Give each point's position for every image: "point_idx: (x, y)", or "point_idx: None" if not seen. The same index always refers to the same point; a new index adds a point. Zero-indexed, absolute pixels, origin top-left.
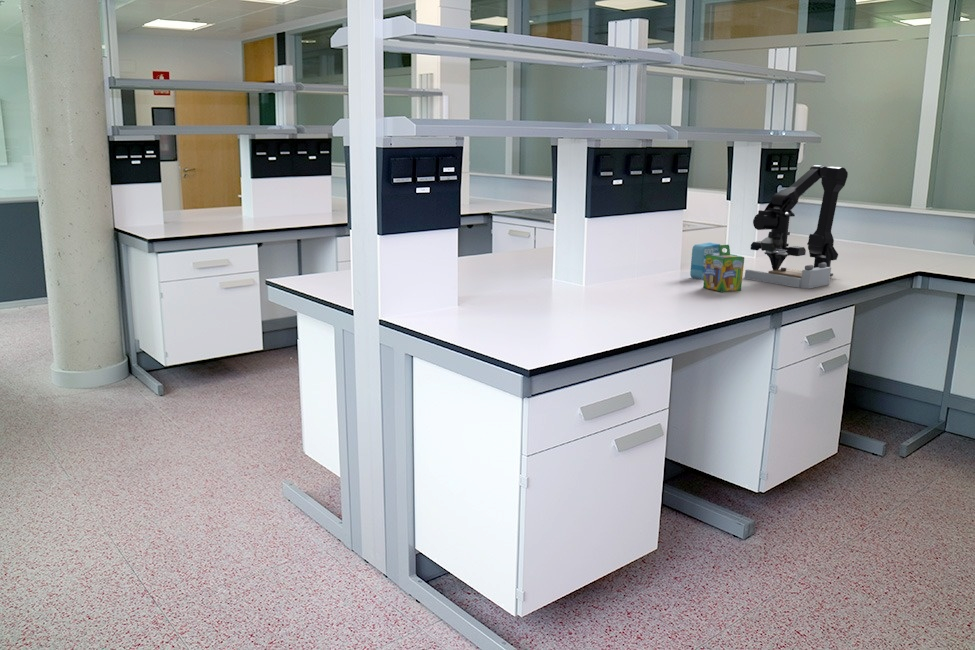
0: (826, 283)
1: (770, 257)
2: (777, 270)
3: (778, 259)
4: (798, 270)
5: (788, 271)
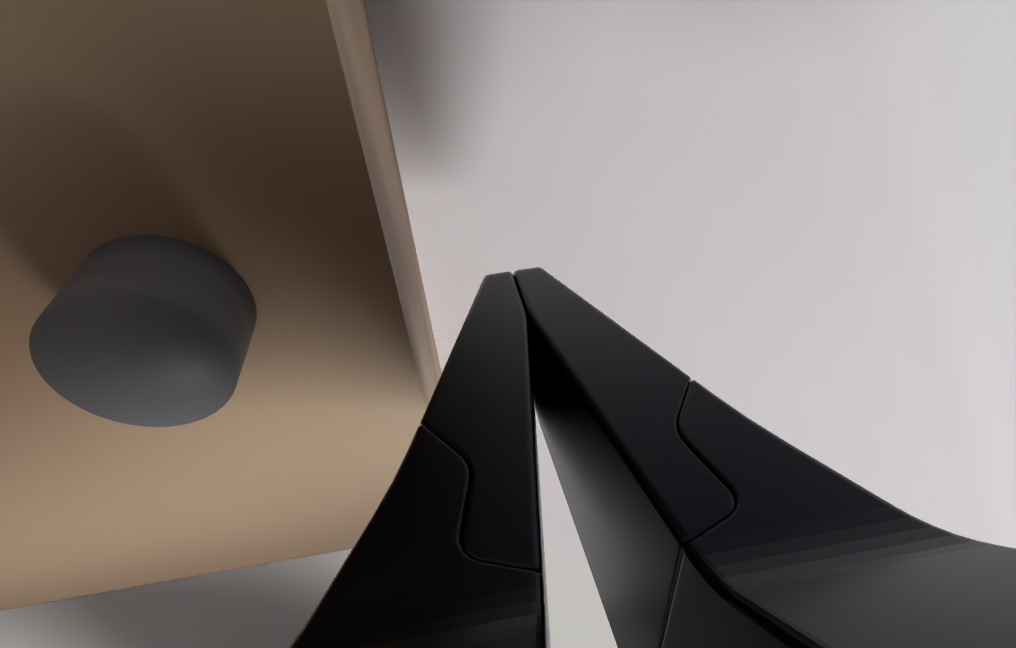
0: None
1: (857, 545)
2: (255, 169)
3: (378, 598)
4: (144, 580)
5: (1, 341)
